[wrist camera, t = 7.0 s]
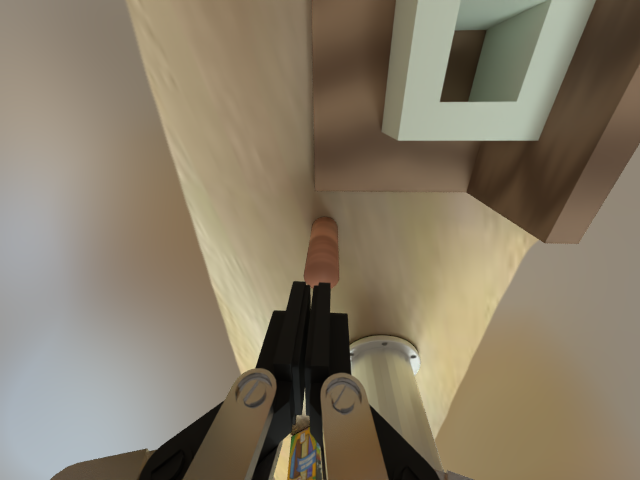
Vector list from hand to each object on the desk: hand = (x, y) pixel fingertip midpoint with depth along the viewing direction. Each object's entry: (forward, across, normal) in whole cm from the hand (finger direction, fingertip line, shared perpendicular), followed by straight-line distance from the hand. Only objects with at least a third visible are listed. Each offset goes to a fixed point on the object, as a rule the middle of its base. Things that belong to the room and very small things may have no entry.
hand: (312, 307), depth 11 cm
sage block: (+15, -9, -11) cm, 21 cm away
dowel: (+17, 0, +4) cm, 18 cm away
